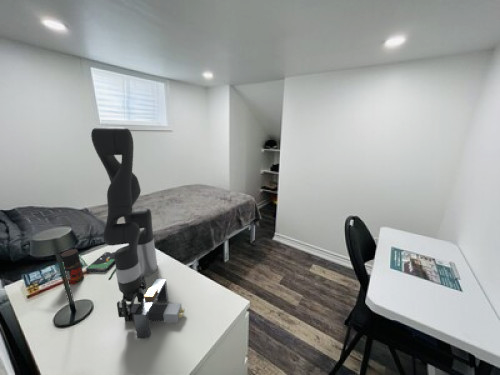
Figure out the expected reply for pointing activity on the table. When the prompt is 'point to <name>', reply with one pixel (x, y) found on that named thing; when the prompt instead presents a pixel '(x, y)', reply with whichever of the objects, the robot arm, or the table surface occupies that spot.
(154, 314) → the grey two-tone block
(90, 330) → the table surface
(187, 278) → the table surface
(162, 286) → the u-shaped bracket
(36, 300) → the table surface
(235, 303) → the table surface
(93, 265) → the disk drive
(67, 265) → the deodorant
